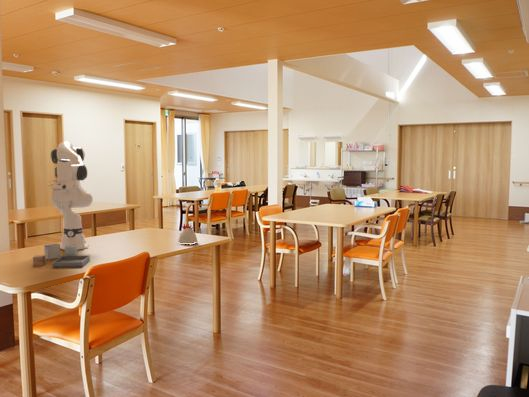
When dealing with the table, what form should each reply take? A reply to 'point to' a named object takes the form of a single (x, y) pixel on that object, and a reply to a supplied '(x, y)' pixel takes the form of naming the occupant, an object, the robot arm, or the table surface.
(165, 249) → the table surface
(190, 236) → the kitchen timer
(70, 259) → the tray
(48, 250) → the medicine box
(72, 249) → the grey block
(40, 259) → the walnut block
